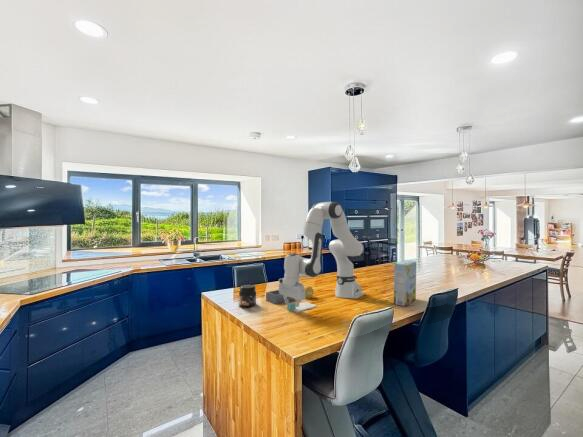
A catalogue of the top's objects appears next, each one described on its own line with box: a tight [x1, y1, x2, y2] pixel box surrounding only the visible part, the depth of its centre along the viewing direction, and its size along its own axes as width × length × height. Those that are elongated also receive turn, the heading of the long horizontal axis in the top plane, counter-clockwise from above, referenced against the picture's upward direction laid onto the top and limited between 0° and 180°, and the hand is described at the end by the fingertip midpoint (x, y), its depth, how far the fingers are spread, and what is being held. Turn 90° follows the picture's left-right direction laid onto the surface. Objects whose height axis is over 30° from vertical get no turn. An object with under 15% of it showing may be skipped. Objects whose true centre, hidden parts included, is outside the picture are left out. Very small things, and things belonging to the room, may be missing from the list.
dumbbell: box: [304, 285, 314, 299], centre depth 200 cm, size 19×9×8 cm, turn 39°
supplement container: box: [238, 284, 257, 309], centre depth 177 cm, size 10×10×12 cm
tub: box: [265, 289, 296, 305], centre depth 188 cm, size 16×10×6 cm, turn 131°
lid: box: [285, 301, 318, 313], centre depth 173 cm, size 18×10×4 cm, turn 131°
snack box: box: [393, 259, 417, 307], centre depth 185 cm, size 22×9×26 cm, turn 143°
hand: (291, 304), depth 169 cm, fingers open, 8 cm apart
